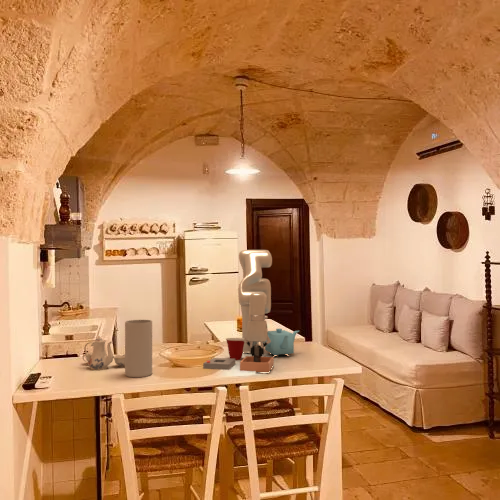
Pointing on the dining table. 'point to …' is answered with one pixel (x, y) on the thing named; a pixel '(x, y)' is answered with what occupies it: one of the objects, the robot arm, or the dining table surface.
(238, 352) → the plastic cup
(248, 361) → the bin
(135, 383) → the dining table surface
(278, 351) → the teakettle
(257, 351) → the battery cell
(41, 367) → the dining table surface
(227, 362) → the block
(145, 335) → the cylinder vase
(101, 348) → the chinaware
